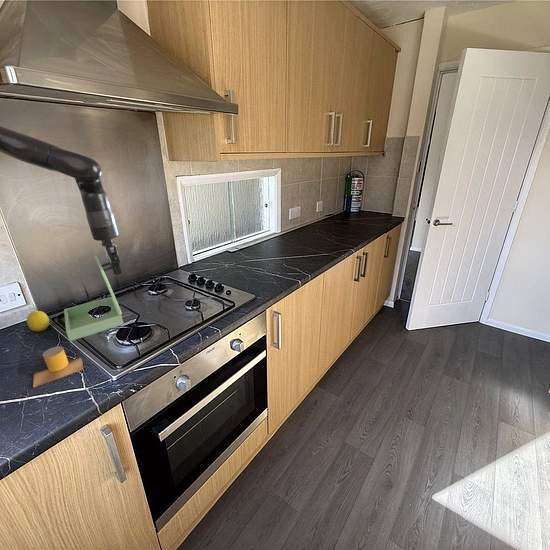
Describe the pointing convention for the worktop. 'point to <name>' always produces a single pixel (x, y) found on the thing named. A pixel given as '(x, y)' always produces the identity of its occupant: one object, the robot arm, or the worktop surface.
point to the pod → (55, 358)
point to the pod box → (90, 319)
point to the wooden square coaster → (57, 372)
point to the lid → (107, 280)
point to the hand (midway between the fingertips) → (116, 271)
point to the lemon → (37, 321)
